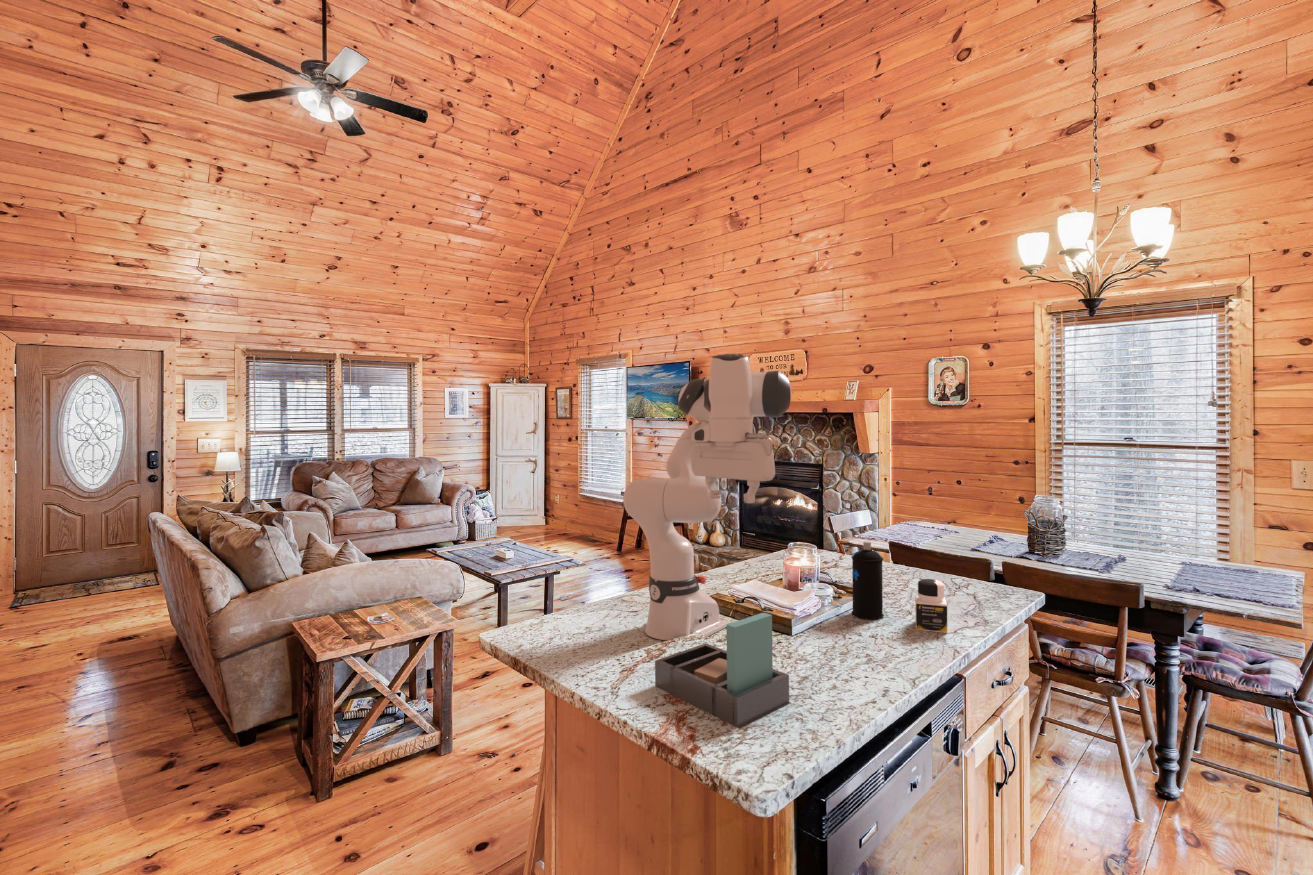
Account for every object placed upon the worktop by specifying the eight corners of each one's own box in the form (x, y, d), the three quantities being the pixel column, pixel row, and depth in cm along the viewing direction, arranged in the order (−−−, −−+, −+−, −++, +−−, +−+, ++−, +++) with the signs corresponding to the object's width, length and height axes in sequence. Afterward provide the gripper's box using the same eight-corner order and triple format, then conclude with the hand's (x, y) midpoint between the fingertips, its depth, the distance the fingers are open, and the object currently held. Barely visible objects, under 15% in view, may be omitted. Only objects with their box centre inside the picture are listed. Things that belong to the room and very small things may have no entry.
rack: (706, 673, 126) (705, 643, 126) (791, 710, 109) (791, 675, 109) (655, 693, 117) (655, 660, 117) (739, 737, 100) (739, 698, 100)
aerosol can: (886, 613, 165) (886, 541, 164) (879, 621, 158) (879, 546, 157) (855, 608, 169) (855, 538, 169) (848, 616, 162) (847, 543, 162)
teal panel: (764, 697, 112) (763, 612, 111) (772, 701, 110) (772, 614, 110) (727, 714, 105) (726, 624, 105) (735, 719, 104) (735, 627, 103)
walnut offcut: (719, 670, 118) (719, 657, 118) (740, 677, 115) (740, 664, 115) (694, 683, 112) (694, 670, 112) (716, 691, 109) (715, 677, 109)
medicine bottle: (916, 630, 151) (915, 582, 151) (915, 621, 158) (915, 576, 158) (947, 633, 148) (947, 585, 148) (945, 624, 155) (945, 578, 155)
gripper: (781, 432, 116) (782, 503, 116) (707, 432, 132) (707, 495, 132) (760, 433, 112) (761, 507, 112) (685, 433, 127) (686, 497, 128)
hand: (731, 500), depth 122 cm, fingers open, 8 cm apart
